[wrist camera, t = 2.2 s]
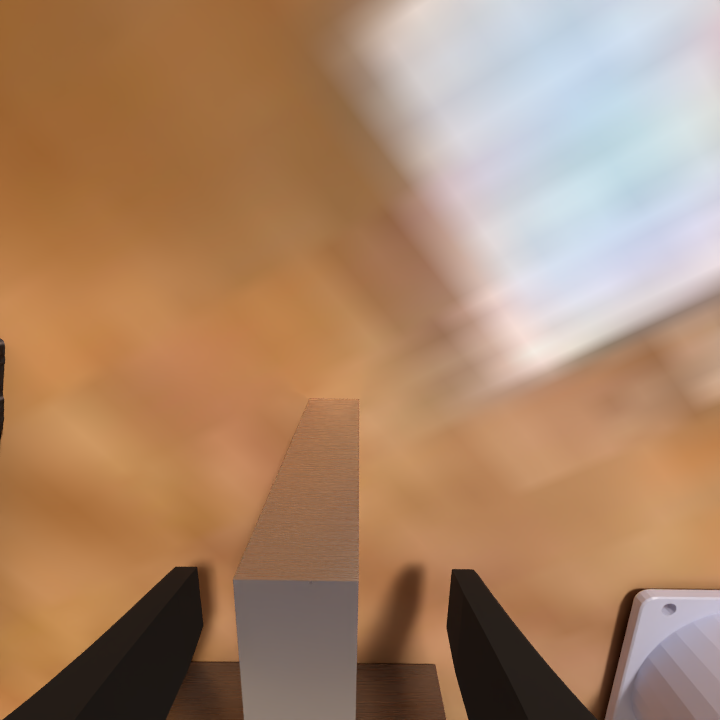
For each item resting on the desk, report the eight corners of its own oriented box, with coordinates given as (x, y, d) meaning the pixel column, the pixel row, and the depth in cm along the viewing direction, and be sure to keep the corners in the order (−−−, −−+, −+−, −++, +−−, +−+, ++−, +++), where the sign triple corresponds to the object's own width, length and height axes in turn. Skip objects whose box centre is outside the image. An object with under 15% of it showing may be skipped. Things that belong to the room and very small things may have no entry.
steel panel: (359, 398, 11) (358, 581, 4) (354, 640, 13) (349, 1009, 7) (309, 397, 11) (232, 579, 4) (313, 640, 13) (266, 1009, 7)
